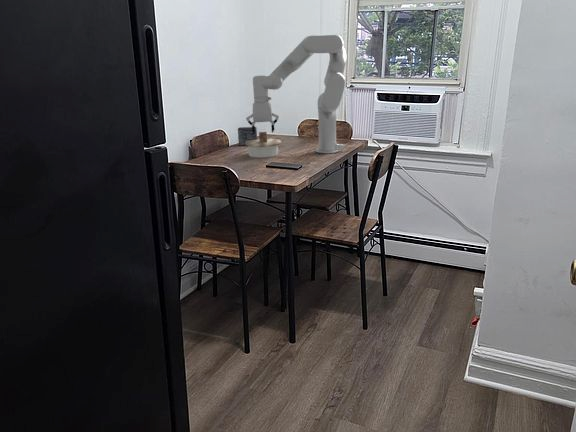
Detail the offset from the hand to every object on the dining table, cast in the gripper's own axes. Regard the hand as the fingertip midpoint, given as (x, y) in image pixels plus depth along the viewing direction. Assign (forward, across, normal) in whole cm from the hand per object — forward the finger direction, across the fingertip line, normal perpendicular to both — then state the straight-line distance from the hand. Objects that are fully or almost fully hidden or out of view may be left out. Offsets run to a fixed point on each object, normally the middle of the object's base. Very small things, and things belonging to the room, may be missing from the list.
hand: (263, 132), depth 274 cm
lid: (+6, 0, 0) cm, 6 cm away
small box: (+12, +10, -32) cm, 36 cm away
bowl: (+12, +1, 0) cm, 12 cm away
